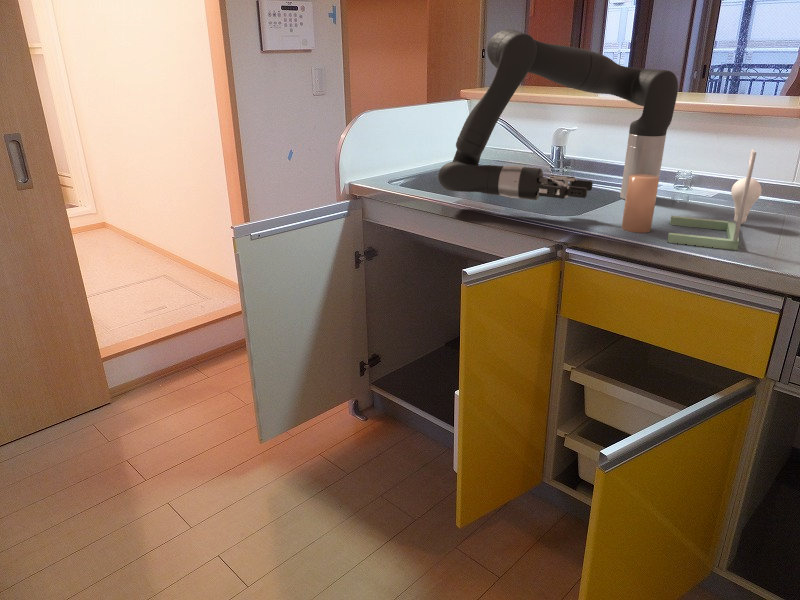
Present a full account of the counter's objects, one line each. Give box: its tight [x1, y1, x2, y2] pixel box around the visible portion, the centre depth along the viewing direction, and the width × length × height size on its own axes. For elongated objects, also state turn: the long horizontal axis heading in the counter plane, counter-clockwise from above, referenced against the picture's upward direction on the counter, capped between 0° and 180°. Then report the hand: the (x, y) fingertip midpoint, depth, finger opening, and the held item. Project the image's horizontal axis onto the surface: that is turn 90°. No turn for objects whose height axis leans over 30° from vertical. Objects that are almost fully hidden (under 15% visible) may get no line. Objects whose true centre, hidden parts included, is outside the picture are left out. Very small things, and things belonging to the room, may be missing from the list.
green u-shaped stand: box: [667, 148, 757, 251], centre depth 135 cm, size 17×14×20 cm
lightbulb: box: [730, 177, 762, 225], centre depth 146 cm, size 6×6×11 cm
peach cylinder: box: [621, 174, 660, 234], centre depth 142 cm, size 6×6×12 cm
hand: (589, 189), depth 145 cm, fingers open, 8 cm apart
